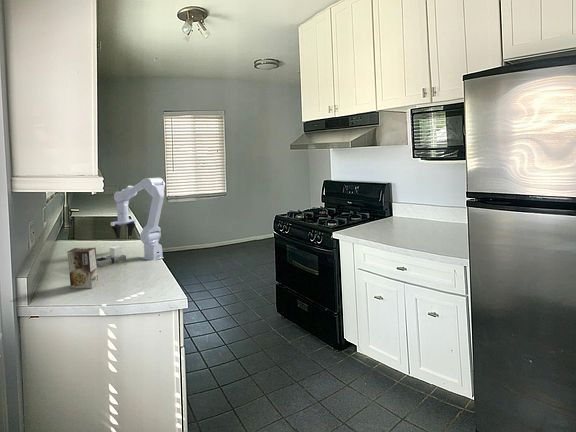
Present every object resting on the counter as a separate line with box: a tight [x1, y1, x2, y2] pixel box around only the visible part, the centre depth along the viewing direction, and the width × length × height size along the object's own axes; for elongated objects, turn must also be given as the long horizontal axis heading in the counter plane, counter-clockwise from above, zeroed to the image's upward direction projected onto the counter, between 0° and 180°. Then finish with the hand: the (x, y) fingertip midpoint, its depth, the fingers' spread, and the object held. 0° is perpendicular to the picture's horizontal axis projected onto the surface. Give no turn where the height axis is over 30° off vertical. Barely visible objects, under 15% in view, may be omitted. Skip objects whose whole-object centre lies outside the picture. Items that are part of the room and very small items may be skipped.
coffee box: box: [66, 247, 99, 289], centre depth 164 cm, size 9×6×16 cm
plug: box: [109, 245, 123, 258], centre depth 203 cm, size 5×4×7 cm
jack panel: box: [96, 254, 127, 268], centre depth 200 cm, size 9×16×3 cm, turn 148°
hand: (124, 236), depth 218 cm, fingers open, 7 cm apart
